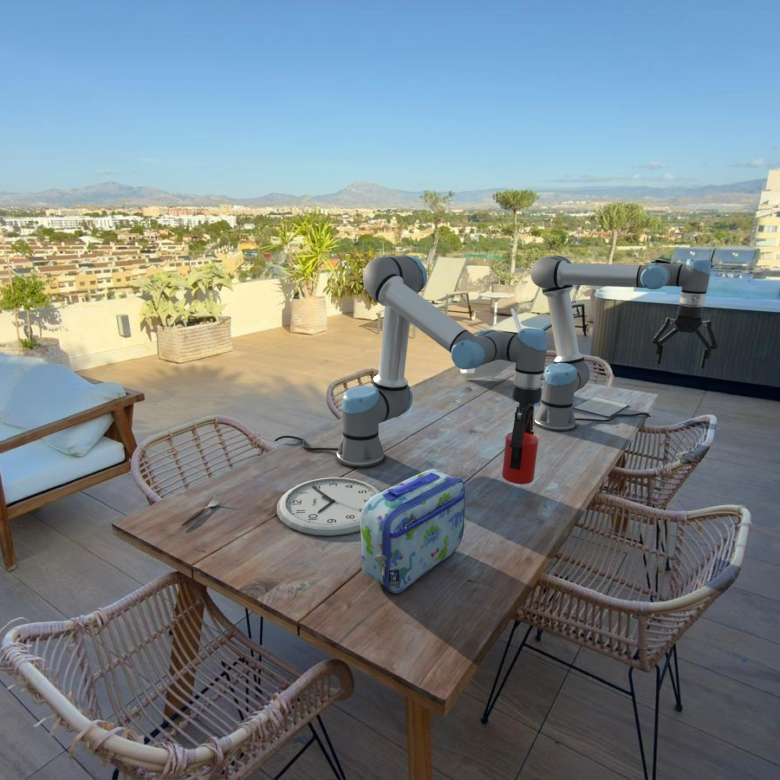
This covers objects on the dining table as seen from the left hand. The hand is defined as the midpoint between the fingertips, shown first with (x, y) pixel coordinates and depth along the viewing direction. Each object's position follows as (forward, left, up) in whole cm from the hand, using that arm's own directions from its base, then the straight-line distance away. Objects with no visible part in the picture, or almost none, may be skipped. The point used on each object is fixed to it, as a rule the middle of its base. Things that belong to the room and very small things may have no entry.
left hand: (519, 461), depth 148 cm
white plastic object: (-26, +105, -10) cm, 109 cm away
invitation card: (+21, +93, -10) cm, 96 cm away
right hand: (+44, +66, +18) cm, 81 cm away
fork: (-74, -45, -10) cm, 88 cm away
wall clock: (-45, -28, -10) cm, 54 cm away
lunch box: (-16, -45, -10) cm, 48 cm away
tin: (0, 0, -5) cm, 5 cm away
